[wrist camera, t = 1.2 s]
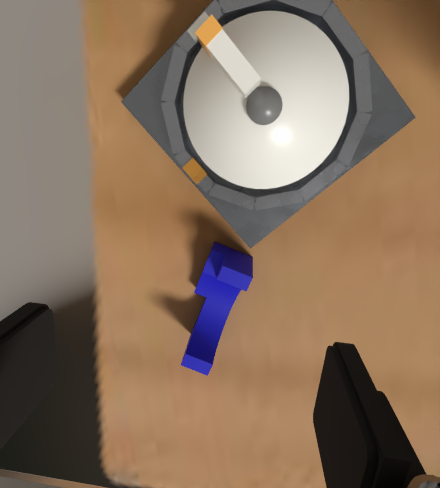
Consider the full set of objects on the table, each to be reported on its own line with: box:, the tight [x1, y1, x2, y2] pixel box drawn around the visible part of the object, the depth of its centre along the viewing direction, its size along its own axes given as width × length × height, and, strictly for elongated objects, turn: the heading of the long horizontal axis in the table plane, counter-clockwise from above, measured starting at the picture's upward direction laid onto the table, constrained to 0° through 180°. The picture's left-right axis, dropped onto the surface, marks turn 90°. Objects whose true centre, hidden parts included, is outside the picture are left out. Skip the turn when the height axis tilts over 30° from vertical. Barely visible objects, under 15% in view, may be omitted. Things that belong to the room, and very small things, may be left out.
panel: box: [121, 0, 416, 248], centre depth 29 cm, size 19×19×4 cm
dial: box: [183, 11, 349, 189], centre depth 27 cm, size 14×14×5 cm
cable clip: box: [181, 242, 253, 375], centre depth 34 cm, size 12×4×6 cm, turn 159°
